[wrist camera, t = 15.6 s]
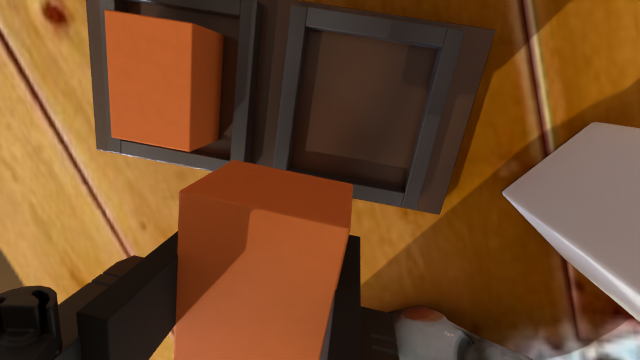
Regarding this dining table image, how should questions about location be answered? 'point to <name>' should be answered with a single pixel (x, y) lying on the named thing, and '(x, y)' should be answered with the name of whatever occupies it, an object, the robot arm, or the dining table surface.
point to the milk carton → (590, 207)
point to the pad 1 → (163, 80)
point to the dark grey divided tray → (322, 93)
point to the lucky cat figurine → (441, 338)
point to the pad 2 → (258, 263)
